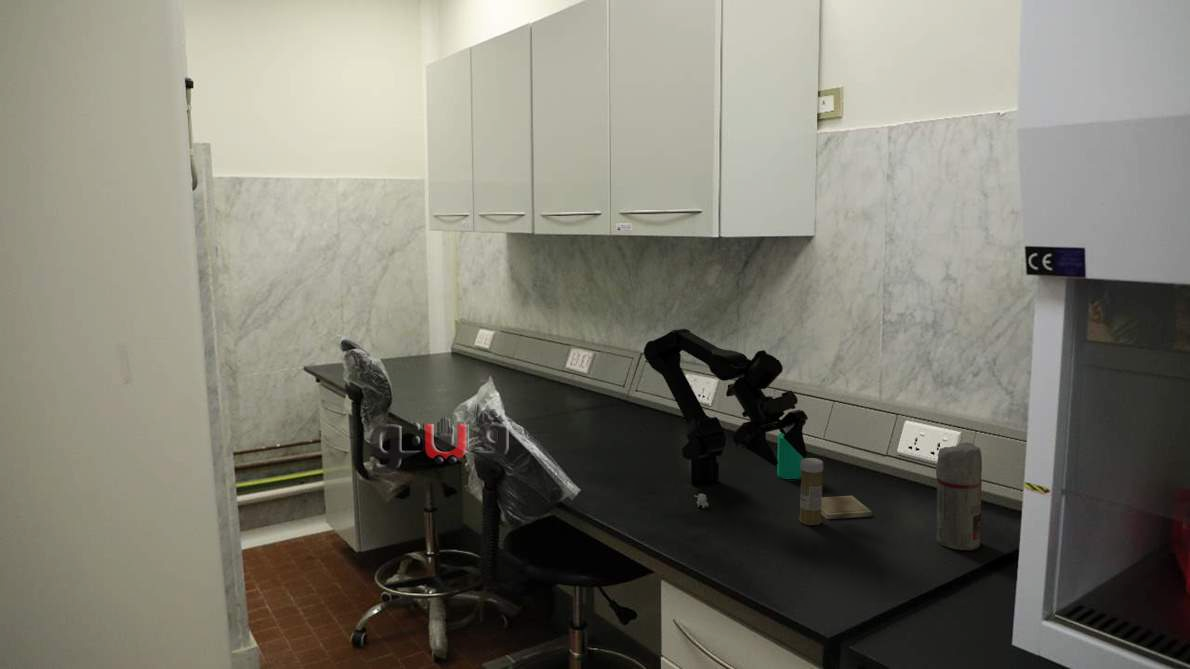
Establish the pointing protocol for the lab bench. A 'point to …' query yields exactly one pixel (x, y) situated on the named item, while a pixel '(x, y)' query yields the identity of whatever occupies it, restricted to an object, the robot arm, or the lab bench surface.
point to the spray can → (959, 496)
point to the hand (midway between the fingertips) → (791, 460)
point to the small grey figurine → (702, 500)
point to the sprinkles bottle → (811, 491)
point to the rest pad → (843, 507)
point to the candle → (788, 460)
